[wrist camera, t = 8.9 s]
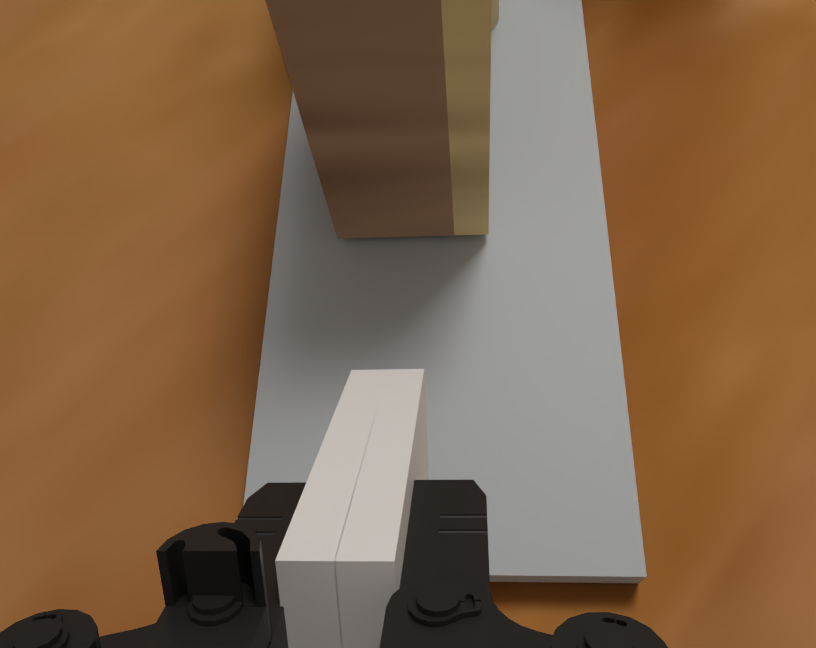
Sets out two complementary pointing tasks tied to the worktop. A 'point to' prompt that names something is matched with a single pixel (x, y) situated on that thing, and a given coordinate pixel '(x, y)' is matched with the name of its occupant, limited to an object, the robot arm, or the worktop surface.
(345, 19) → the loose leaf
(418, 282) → the hinge jig
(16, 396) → the worktop surface
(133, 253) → the worktop surface
